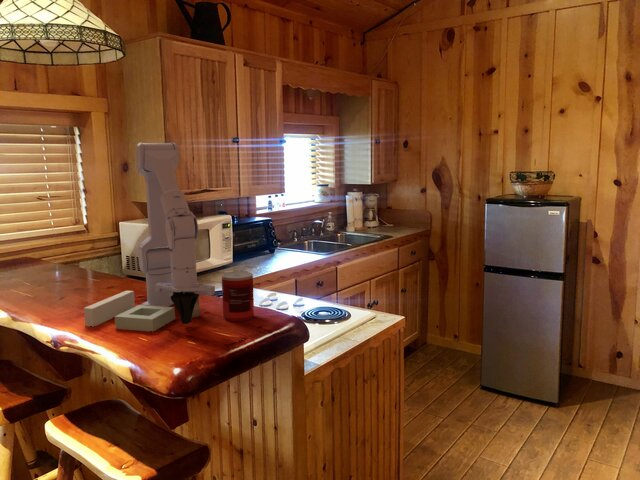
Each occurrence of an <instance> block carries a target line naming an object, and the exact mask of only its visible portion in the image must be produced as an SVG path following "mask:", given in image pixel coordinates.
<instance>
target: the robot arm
mask: <svg viewBox="0 0 640 480" xmlns="http://www.w3.org/2000/svg"><path fill="white" fill-rule="evenodd" d="M179 162H180V150H179V146H178V145H177V143H175V142H160V143H159V142H138V144H137V145H136V146H135V164H136V170H137V174H138V175H141V176H143V178H144V181H145V192H146V209H147V211H146V212H147V224H148V236H147V237H146V238H145V239H143V240H142V242H140V243H139V246H138V266H139V269H140V271H142V273H145V282H146V295H147V296H146V297H147V298H146V299H147V301H144V302H143V303H141V304H140V305H147V306H162V307H172V305H174V307H175V308H176V310H177V312H178V316H179V318H180V321H181V323H182V325H189V324H190V323H191V322H192V319H193V318H192V313H193V309H194V306H195V304H196V301H197V299H198V297H199V298H200V295H206V296H209V297H211V296H214V295H215V294H216V289H215V288H216V286H215V285H212V284H211V285H210V284H205V283H204V284H203V283H199V282H198V280H197V279H198V277H197V274H198V273H197V256H196V255H197V254H196V252H197V251H196V240H197V239H198V236H199V224H198V219H197V216H196V215H195V214H193V211H190V206H189V205H188V202H187V198H186V195H185V193H184V191H182V190H181V189H179V186H178V180H177V175H176V170H177V168H178V165H179Z"/></svg>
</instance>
